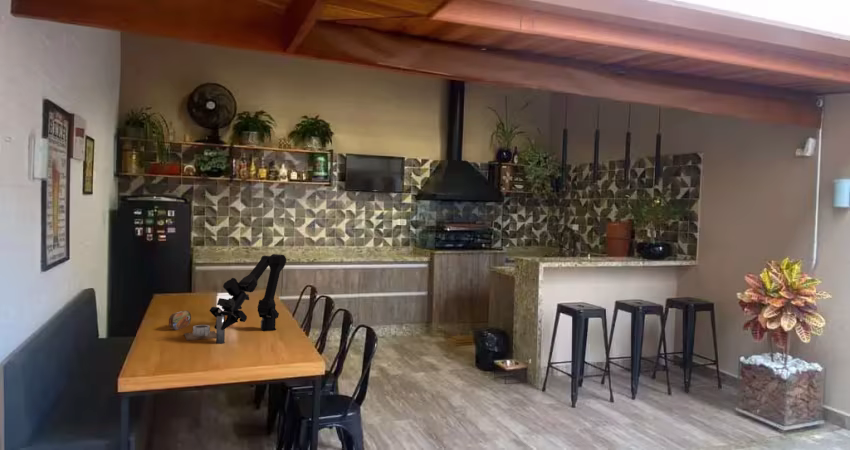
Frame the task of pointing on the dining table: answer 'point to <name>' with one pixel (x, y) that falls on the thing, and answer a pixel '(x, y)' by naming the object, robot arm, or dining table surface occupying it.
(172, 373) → the dining table surface
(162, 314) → the dining table surface
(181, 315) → the tin
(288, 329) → the dining table surface
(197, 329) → the ring
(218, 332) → the rail post
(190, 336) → the bracket plate
